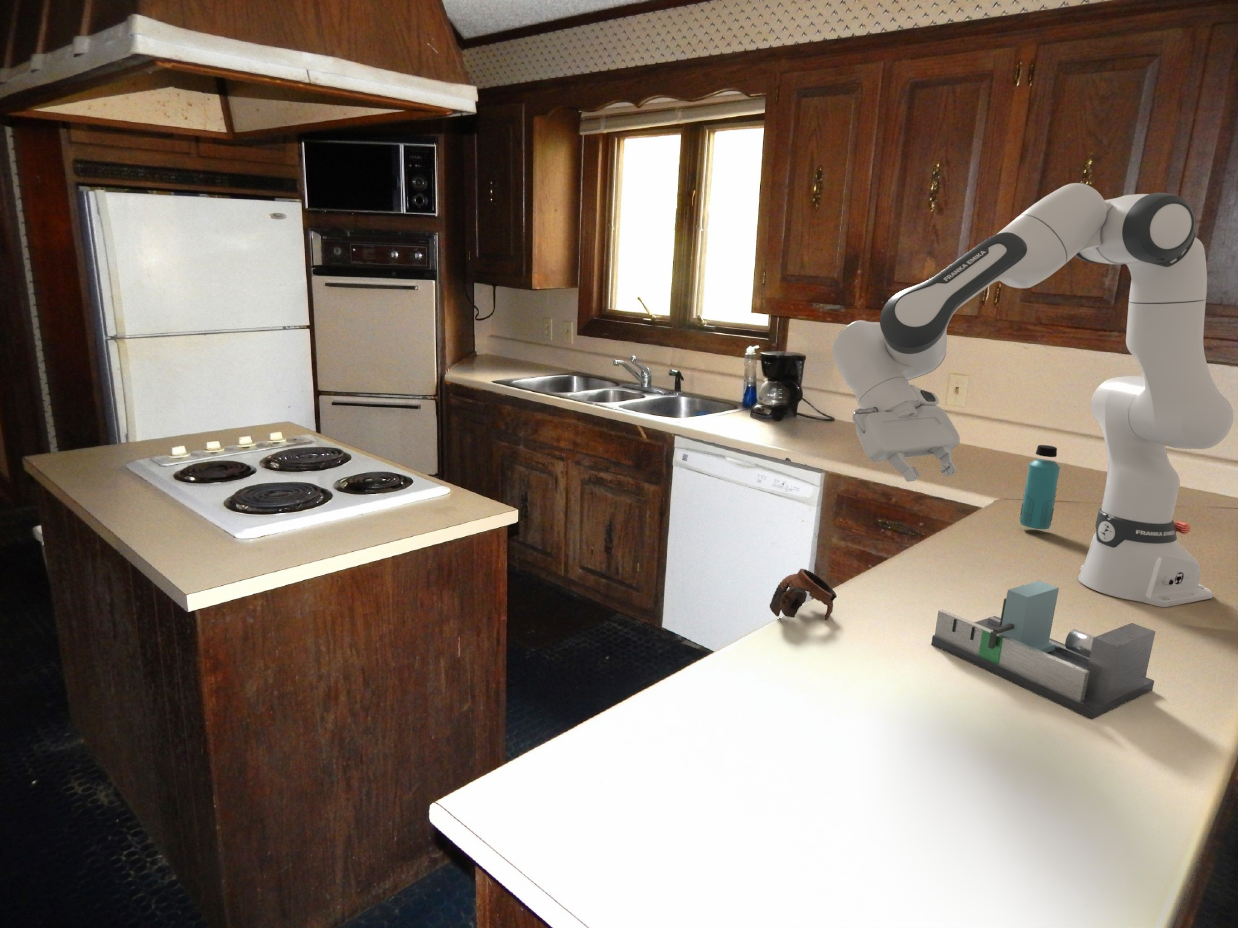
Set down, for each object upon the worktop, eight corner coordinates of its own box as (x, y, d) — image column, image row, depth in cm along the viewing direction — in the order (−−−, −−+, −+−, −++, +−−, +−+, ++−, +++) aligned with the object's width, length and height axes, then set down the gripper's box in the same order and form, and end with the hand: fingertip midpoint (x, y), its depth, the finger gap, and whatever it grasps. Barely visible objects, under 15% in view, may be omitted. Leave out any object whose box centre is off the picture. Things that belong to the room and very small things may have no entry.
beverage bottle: (1053, 537, 180) (1069, 450, 175) (1021, 534, 181) (1036, 447, 176) (1044, 528, 186) (1059, 444, 181) (1013, 525, 187) (1027, 441, 183)
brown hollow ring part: (774, 599, 138) (802, 562, 136) (818, 636, 134) (848, 598, 133) (752, 605, 128) (783, 564, 126) (799, 645, 124) (831, 604, 122)
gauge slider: (972, 653, 116) (981, 592, 114) (1022, 636, 123) (1032, 578, 120) (1004, 668, 112) (1015, 605, 110) (1054, 649, 119) (1065, 589, 116)
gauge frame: (931, 644, 122) (939, 586, 120) (993, 624, 131) (1002, 569, 129) (1091, 719, 103) (1105, 651, 101) (1152, 690, 111) (1166, 626, 109)
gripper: (860, 398, 127) (904, 472, 121) (941, 393, 138) (985, 461, 132) (836, 421, 131) (876, 493, 126) (916, 414, 142) (957, 481, 137)
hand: (932, 476), depth 129 cm, fingers open, 8 cm apart
